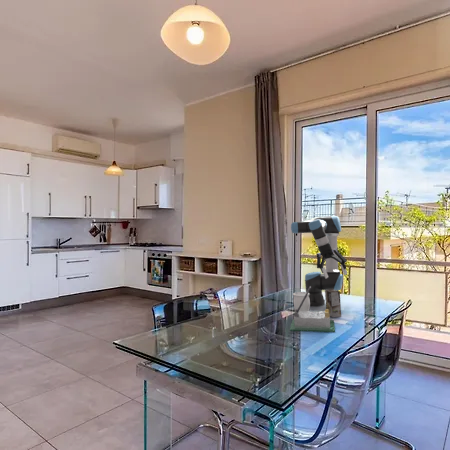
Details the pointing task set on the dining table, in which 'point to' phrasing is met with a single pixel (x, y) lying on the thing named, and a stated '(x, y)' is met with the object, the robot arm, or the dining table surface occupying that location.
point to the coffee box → (333, 302)
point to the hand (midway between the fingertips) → (336, 276)
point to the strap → (303, 299)
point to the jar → (298, 299)
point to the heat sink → (312, 321)
